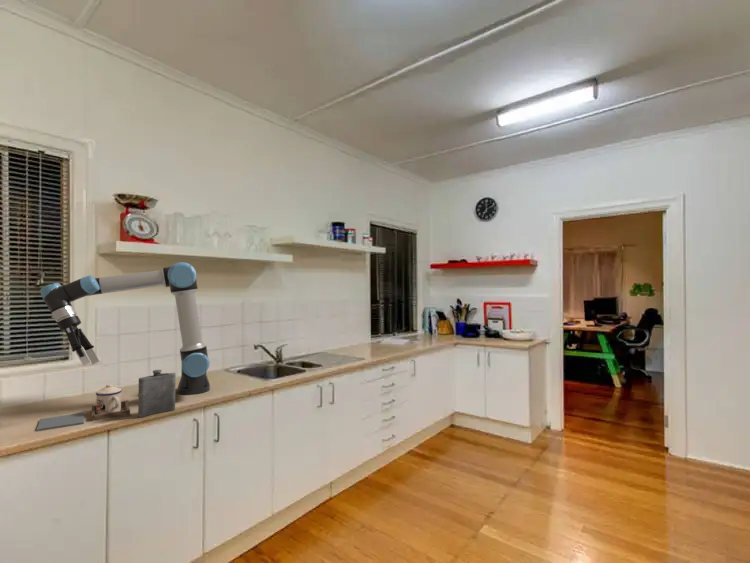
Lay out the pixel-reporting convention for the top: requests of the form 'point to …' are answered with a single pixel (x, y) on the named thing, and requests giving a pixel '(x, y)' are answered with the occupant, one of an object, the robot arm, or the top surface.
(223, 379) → the top surface
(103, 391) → the teacup with lid
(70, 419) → the slate mat
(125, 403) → the brown wooden tray
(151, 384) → the flask
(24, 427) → the top surface
